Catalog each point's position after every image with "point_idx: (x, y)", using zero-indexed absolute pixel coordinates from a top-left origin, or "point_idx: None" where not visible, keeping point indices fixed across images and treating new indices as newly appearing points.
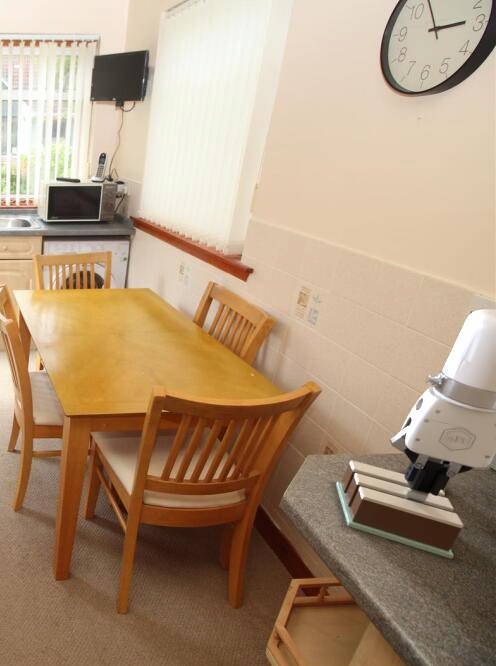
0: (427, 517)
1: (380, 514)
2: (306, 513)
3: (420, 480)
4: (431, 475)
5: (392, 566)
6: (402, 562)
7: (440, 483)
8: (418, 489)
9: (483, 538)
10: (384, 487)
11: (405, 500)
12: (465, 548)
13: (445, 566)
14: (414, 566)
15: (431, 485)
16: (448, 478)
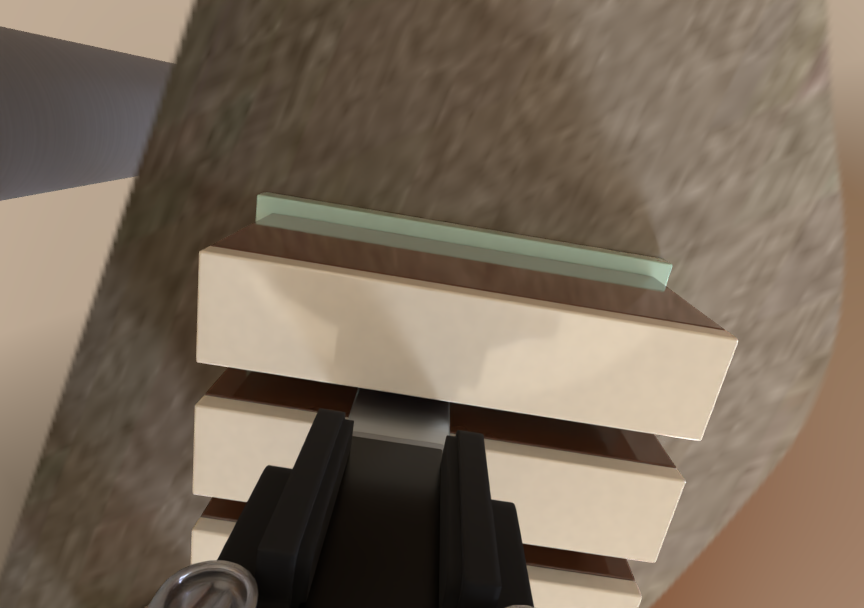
0: (386, 275)
1: (589, 288)
2: (832, 285)
3: (463, 490)
4: (366, 566)
5: (575, 25)
6: (510, 78)
7: (311, 485)
8: (418, 453)
9: (78, 384)
10: (540, 476)
11: (467, 388)
12: (176, 291)
13: (313, 127)
14: (463, 69)
15: (347, 487)
16: (227, 557)
